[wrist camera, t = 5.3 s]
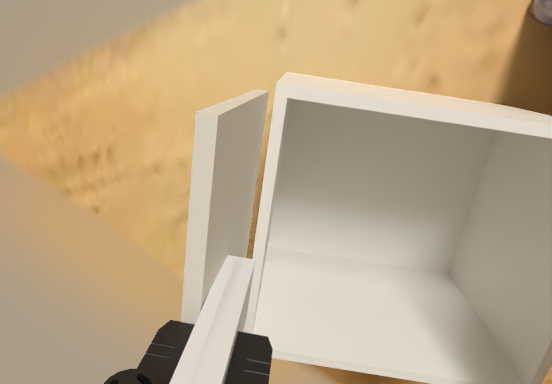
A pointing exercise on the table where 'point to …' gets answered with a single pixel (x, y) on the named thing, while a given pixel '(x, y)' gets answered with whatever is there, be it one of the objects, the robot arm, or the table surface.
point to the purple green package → (542, 11)
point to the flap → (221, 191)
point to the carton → (405, 234)
